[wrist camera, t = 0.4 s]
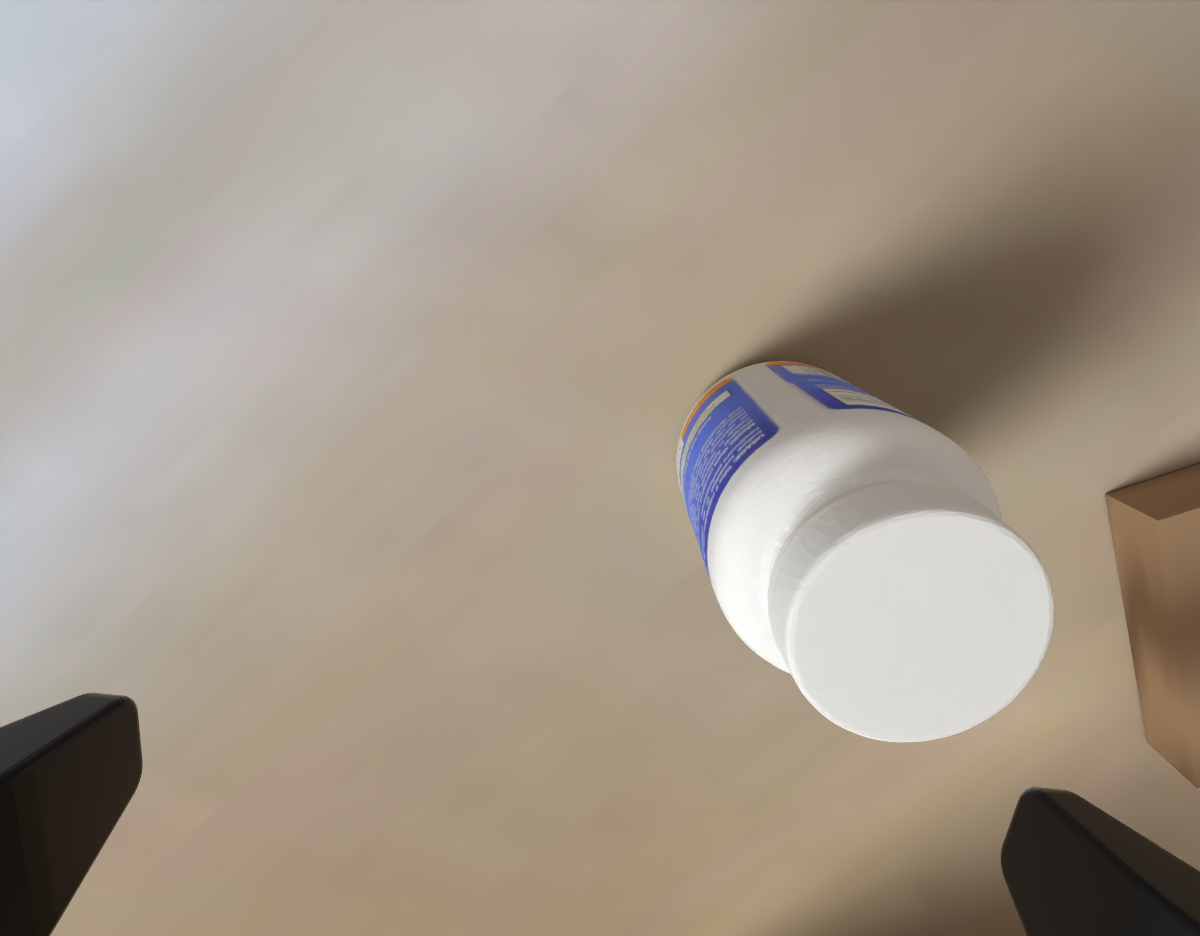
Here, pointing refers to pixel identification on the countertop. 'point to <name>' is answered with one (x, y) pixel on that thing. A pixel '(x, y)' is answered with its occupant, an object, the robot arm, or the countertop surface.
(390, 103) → the countertop surface
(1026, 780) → the countertop surface
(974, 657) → the pill bottle
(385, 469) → the countertop surface
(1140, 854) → the robot arm
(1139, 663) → the walnut picture frame
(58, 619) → the countertop surface
